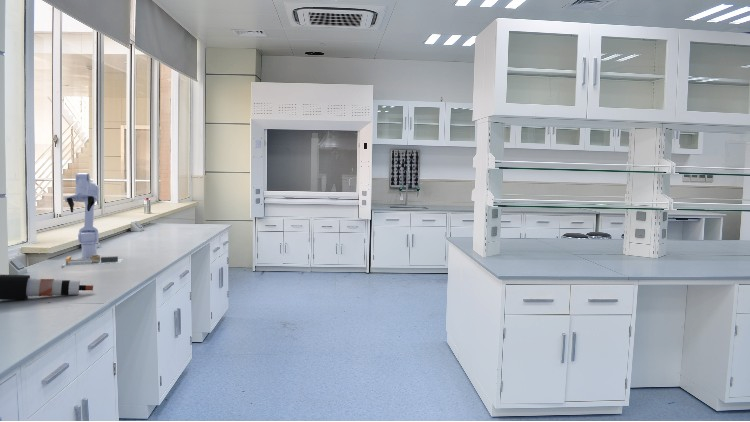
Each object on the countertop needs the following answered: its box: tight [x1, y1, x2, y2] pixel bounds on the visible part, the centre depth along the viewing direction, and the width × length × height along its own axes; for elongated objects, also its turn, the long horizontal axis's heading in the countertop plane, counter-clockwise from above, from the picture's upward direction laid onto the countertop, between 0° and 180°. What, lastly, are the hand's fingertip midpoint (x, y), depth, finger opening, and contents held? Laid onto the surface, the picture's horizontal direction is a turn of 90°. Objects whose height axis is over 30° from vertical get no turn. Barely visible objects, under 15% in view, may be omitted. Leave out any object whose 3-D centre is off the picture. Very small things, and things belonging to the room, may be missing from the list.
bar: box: [100, 255, 119, 262], centre depth 287 cm, size 2×8×2 cm, turn 108°
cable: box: [0, 274, 94, 301], centre depth 218 cm, size 10×34×10 cm, turn 113°
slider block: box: [89, 254, 101, 262], centre depth 285 cm, size 3×4×4 cm
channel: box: [61, 255, 123, 268], centre depth 285 cm, size 11×28×4 cm, turn 108°
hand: (80, 210), depth 271 cm, fingers open, 7 cm apart
